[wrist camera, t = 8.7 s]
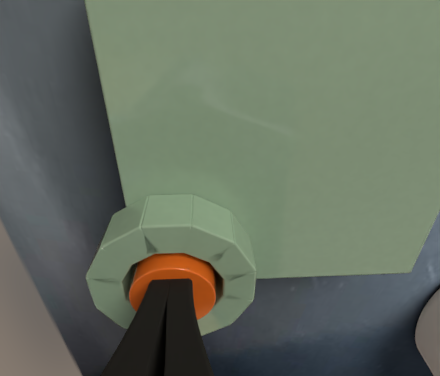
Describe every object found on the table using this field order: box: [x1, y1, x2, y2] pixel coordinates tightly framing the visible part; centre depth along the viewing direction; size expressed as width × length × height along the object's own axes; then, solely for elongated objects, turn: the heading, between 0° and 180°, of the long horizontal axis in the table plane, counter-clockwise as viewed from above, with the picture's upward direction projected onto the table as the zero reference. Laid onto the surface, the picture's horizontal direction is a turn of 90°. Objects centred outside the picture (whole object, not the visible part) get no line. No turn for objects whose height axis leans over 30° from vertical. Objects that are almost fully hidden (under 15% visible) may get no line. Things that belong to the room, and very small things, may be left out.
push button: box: [129, 253, 216, 320], centre depth 12 cm, size 3×3×2 cm
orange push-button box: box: [84, 0, 440, 336], centre depth 11 cm, size 13×13×5 cm
